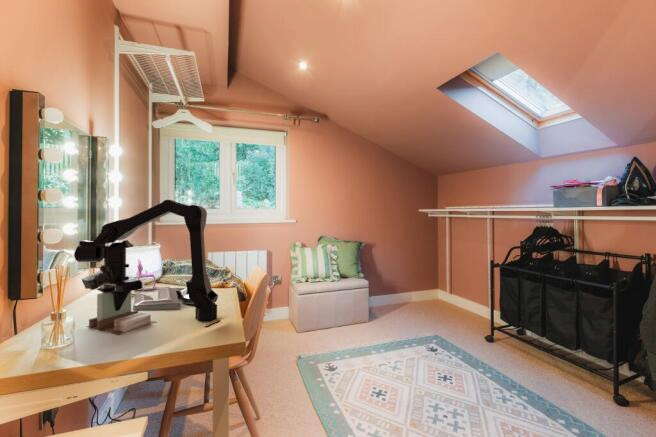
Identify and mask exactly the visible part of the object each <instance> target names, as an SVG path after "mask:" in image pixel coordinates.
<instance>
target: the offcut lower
mask: <svg viewBox="0 0 656 437" xmlns="http://www.w3.org/2000/svg"><path fill="white" fill-rule="evenodd" d="M151 321H152V320H151V319H149V320H146V321H143V322H140V323H137V324H134V325H131V326H128V327H122V326H117V325H114V330H117V331H121V332H127V333H129V332H128V331H130V332H132V331H131V330H133V331H135V330H134V329H136V328H139V327H142V326H145V325H148V324H151ZM151 325H152V324H151ZM148 326H149V325H148ZM145 327H146V326H145ZM142 328H143V327H142ZM139 329H140V328H139ZM136 330H137V329H136Z"/></svg>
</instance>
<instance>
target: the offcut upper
mask: <svg viewBox="0 0 656 437" xmlns="http://www.w3.org/2000/svg"><path fill="white" fill-rule="evenodd" d="M151 315H152V314H150V313H146V312H138V313H136V314H133V315H129V316H126V317H122V318H119V319H116V320H114V325H117V326H122V327H128V326H131V325H134V324H137V323H140V322H143V321H146V320H149V319H151Z"/></svg>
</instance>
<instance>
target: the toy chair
mask: <svg viewBox="0 0 656 437" xmlns="http://www.w3.org/2000/svg"><path fill="white" fill-rule="evenodd" d="M136 260H137V263H138V264H137V274H138V276H137V277H136V278H137V279H138V278H139V279H140V278H150V277H151V278H153V280H154V283H153V286H152V289H153V290H155V287H156V275H155V274H154V272H149V273H148V272H147V273H142V271H143V269H144V268H143V267H144V266H143V265H142V261H141V259H139V258H138V259H136ZM135 292H136V290H133V293H135Z"/></svg>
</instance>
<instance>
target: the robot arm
mask: <svg viewBox="0 0 656 437" xmlns="http://www.w3.org/2000/svg"><path fill="white" fill-rule="evenodd" d="M168 214H174V215H176V216H180V217H183V219H184V222H185V223H184V224H185V226H186V228H187V231H188V233H189V243H190V244H189V245H190V246H189V247H190V258H191V272H192V273H191V274H192V276H191V277H190V279H189V280H187V281H186V282H185V285H186V286H185V287H186V288H187V294H186V295H188V294H189V299H190V300H191V301H193V302H194V304H193V305H194V307H195V320H196V321H197V322H200V323H207V322H209V323H210V322H212V323H210V324H208V325H206V326H204V328H208V327H210V326H212V325H215V324H218V323H219V322H221V320H217V319H218V304H216V302H217V301H218V298H219V294H217V293H216V292H215V290H213V288H212V285H211V284H212V283H211V280H210V278H209V275H208V274H207V264H206V251H205V250H206V249H205V235H204V234H205V228H206V224H207V218H208V217H207V216H208V212H207V210H206V208H204V206H201V205H196V204H191V205H188V204H185V203H181V202H178V201H175V200H172V199H165V200H163V201H161V202H160V203H158V204H156V205H154V206H151V207H150V208H147V209H145V210H143V211H141V212H139V213H137V214H135V215H132V216H130V217H128V218H123V219H120V220H116V221H111V222H108V223H104V225H103V226H101V231H100V233H98V235H97V236H96V238H95V239H94V240H93V241H92V240H80V241H78V242H79V243H78V245H77V247H76V249H75V251H74V252H73V257H74V259H75V260H76V261H75V262H77V263H100V262H101V261H103V260H104V261H103V263H104V264H103V265H100V267H99V271H96V272H93V273H91V274H89V275H87V276H85V277H82V279H81V281H82V284H83V286H84V288H85V290H88V289H89V290H91V291H92V290H97V291H99V292H101V293H106V292H110V293H111V294H113V296H114V305H115V310H116V311H118V310H120V308H121V306H122V305H123V303H124V301H125V299H126V297H127V296H128V294H129V293H130V291H131V292H132V291H133V292H134V290H135V291H137V290H142V289H143V285H142V282H143V281H142V280H141V279H139V280H136V279H134V278H131V279H130V277H129V276H127V271H126V270H127V268H130V264H129V263H127V248H128V249H129V248H132V247H134V244H133V243H131V242H130V241H129V240H128V239H127V238H128V237H129V236H131V235H133V234H134V233H135V232H136V231H137V230H138V229H140V228H142V227H143V226H146V225H147V224H149V223H152V222H154V221H156V220H158V219H160V218H162V217H164V216H166V215H168ZM126 239H127V240H126ZM117 241H118V242H117ZM119 241H122V242H119ZM106 244H110V245H106ZM140 280H141V281H140ZM215 320H217V321H215ZM213 321H215V322H213Z"/></svg>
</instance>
